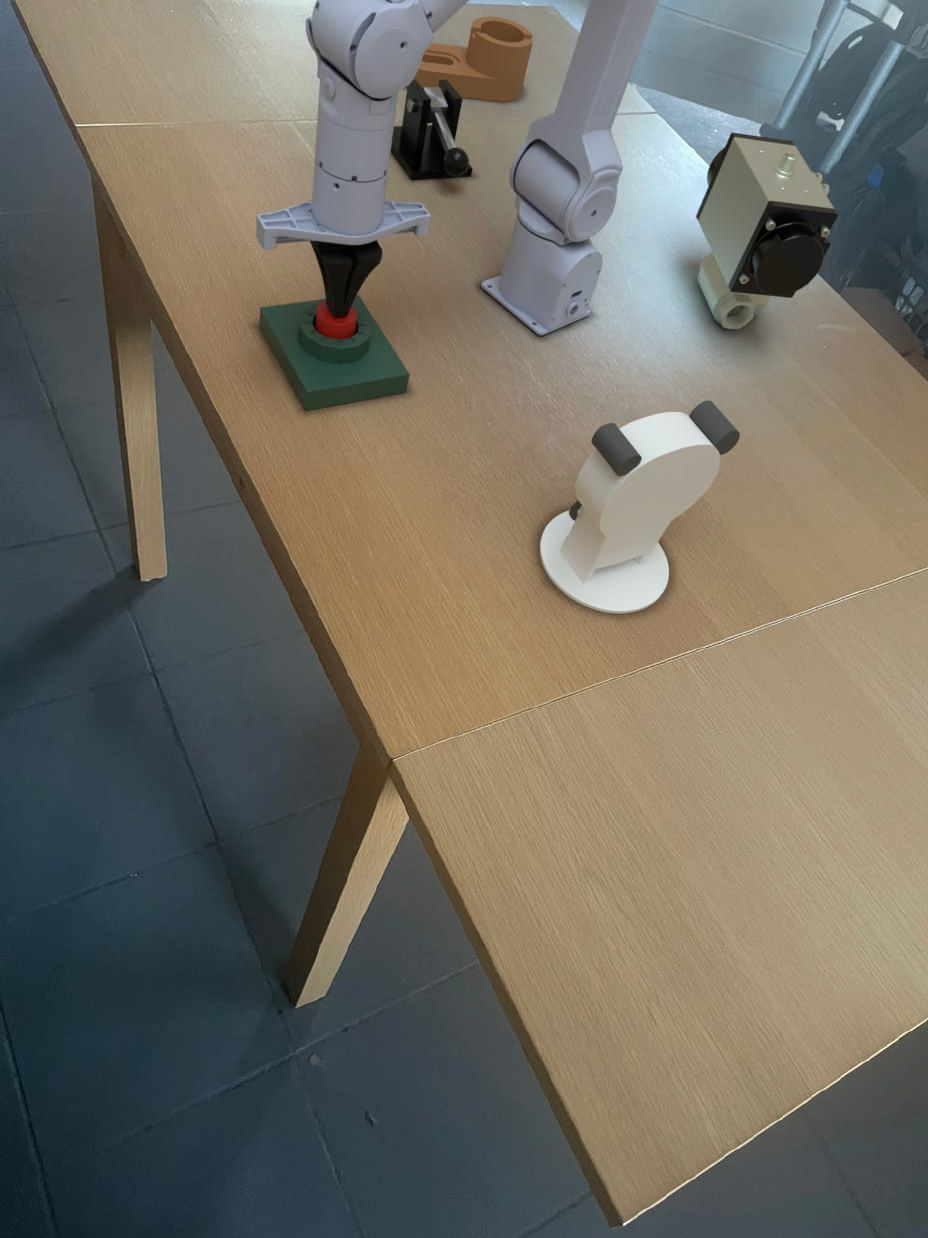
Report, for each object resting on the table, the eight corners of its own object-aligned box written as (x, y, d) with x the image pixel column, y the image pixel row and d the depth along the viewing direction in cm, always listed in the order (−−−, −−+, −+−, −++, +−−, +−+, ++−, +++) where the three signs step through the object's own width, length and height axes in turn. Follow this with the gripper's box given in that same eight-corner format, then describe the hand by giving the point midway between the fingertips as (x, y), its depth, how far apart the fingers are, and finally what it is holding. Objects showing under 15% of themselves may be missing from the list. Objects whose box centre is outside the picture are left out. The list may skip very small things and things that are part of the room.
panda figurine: (626, 496, 84) (690, 364, 72) (698, 589, 79) (780, 464, 67) (515, 527, 79) (564, 391, 67) (584, 629, 74) (651, 502, 62)
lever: (467, 181, 107) (476, 162, 105) (444, 182, 106) (452, 163, 103) (436, 105, 109) (444, 84, 107) (413, 105, 108) (420, 84, 105)
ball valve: (781, 362, 101) (868, 212, 87) (710, 356, 99) (788, 201, 85) (733, 264, 111) (805, 115, 97) (668, 257, 109) (732, 104, 95)
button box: (406, 392, 86) (412, 358, 83) (305, 410, 82) (308, 375, 79) (356, 312, 91) (360, 277, 88) (259, 326, 87) (260, 290, 84)
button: (361, 337, 84) (363, 321, 82) (324, 343, 82) (325, 326, 81) (346, 312, 85) (347, 296, 84) (309, 318, 84) (310, 301, 83)
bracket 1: (513, 74, 130) (525, 20, 124) (526, 104, 125) (539, 50, 120) (387, 59, 125) (394, 2, 119) (396, 89, 120) (404, 32, 115)
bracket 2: (471, 176, 111) (484, 110, 105) (411, 180, 108) (421, 112, 102) (437, 132, 116) (448, 67, 110) (378, 134, 113) (386, 67, 106)
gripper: (415, 131, 76) (393, 275, 87) (244, 138, 71) (243, 290, 81) (451, 178, 73) (423, 321, 84) (274, 189, 67) (269, 341, 78)
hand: (337, 309), depth 82 cm, fingers closed
